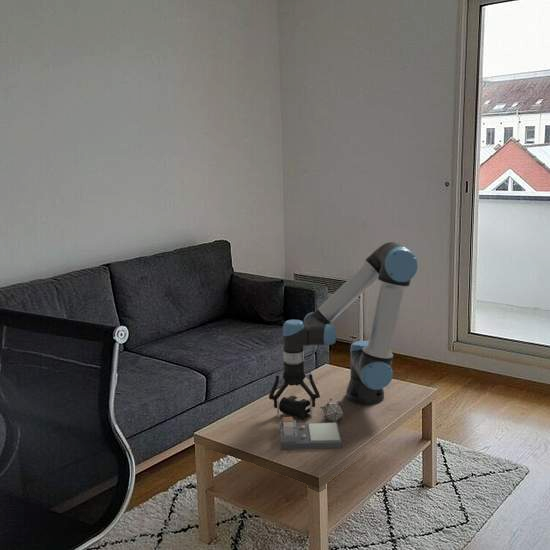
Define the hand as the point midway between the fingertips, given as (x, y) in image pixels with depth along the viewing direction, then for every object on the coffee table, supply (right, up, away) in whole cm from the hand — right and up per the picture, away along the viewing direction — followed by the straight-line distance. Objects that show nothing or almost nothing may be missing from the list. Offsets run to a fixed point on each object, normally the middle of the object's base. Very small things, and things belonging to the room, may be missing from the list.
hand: (294, 415), depth 252 cm
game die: (+14, -1, -5) cm, 15 cm away
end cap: (0, -1, 0) cm, 1 cm away
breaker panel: (+5, -4, -18) cm, 19 cm away
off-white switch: (-3, -2, -22) cm, 22 cm away
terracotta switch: (-3, -1, -15) cm, 15 cm away
